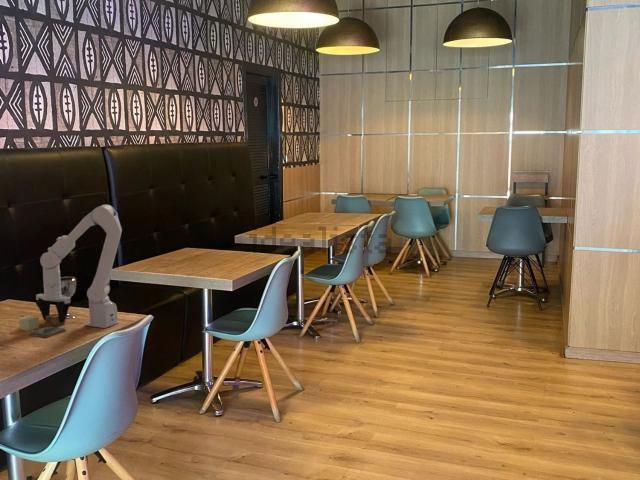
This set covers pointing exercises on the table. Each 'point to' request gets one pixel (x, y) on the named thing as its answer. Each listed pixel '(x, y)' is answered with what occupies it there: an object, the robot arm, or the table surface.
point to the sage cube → (29, 323)
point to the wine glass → (68, 290)
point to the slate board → (47, 331)
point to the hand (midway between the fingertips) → (54, 320)
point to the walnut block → (53, 321)
